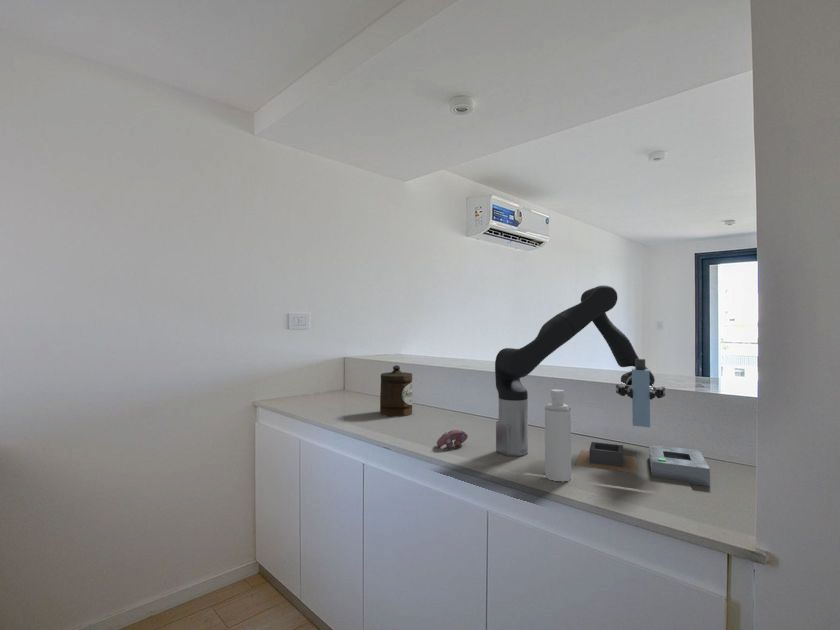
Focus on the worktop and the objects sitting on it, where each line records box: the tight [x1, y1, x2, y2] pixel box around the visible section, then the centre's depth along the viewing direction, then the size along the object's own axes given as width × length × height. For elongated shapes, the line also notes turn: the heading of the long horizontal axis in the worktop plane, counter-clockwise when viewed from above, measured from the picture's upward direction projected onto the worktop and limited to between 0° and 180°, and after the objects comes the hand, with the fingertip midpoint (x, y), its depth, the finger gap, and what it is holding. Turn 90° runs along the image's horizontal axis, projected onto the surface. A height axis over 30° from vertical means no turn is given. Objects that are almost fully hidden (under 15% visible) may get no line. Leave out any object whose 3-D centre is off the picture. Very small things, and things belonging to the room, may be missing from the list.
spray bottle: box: [544, 388, 572, 483], centre depth 117 cm, size 7×7×25 cm
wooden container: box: [379, 365, 413, 417], centre depth 200 cm, size 15×15×22 cm
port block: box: [648, 444, 711, 487], centre depth 121 cm, size 18×13×5 cm
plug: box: [631, 358, 651, 428], centre depth 126 cm, size 4×4×19 cm
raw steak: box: [436, 429, 468, 448], centre depth 146 cm, size 10×5×7 cm, turn 119°
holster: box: [575, 441, 638, 474], centre depth 129 cm, size 16×16×5 cm
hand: (641, 395), depth 123 cm, fingers closed on plug, 4 cm apart
